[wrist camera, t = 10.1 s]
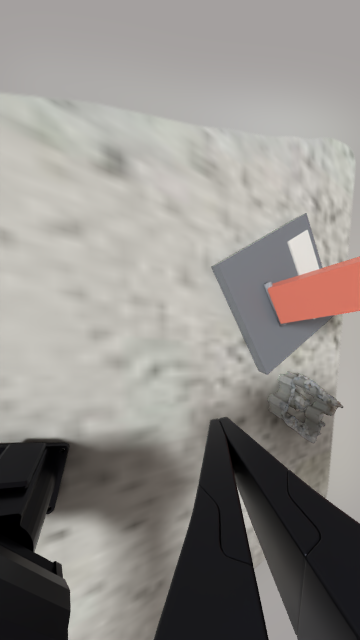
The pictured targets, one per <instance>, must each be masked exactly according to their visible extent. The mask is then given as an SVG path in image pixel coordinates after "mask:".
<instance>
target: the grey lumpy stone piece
mask: <svg viewBox="0 0 360 640" xmlns="http://www.w3.org/2000/svg"><path fill="white" fill-rule="evenodd" d="M298 374H299V375H296V374H293V373H291V372H289V371H288V372H287V373H286V374H284V375H283V374H280V376H279V378H278V381H279V383H280V387H279V390H278V392H277V393H275V394H270V396H269V398H268V401H269V411H270V412H272V413H273V414H275V415H276V416H278V417H279V418H281V419H283V420H284V421H285V423H286V424H287V425H288V426H289V427H290V428H292V429H294V430H295V431H296V432H297V433H299V434H300V435H301V436H303V437H304V438H305V439H307V440H308V441H310V442H312V443H315V441H316V438H317V436H318V435H320V434H321V433H320V428H321V427H322V426H325V423H324V422H322V421H321V420H322V418H323V415H324V414H326V415H330V416H332V415H333V414H334V413H335V411H336V409H337V408H338V407H341V408H343V406H342V405H341V404H340V403H339V402H338V401H337V400H336V399H335V398H334V397H333V396H331V395H329V394H328V393H327V392H325V390H324V389H323V388H321V387H320V386H319V385H317V384H316V383H315V382H314V381H313V380H311V379H309V378H307V377H305V376H303V375H301V374H300V373H298ZM295 384H296V385H298V386H300V387H302V388H303V391H304V392H306V393H308V394H310V395H312V396H313V397H314V400H315V402H314V404H313V405H310V404H311V403H310V401H309V400H308V399H307V398H305V397H304V396H303V395H302V394H300V393H297V392H295V389H296V388H297V386H296V385H295ZM288 405H289V406H290V407H292V408H294V409H295V410H296V411H301V412H305V417H306V420H305V422H304V423H302V422H301V421H299V420H297V419H296V418H295V416H292V415H290V414H289V413H287V410H288V407H289V406H288ZM307 406H308V407H307ZM306 407H307V408H306ZM305 408H306V411H305Z"/></svg>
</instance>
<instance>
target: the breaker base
mask: <svg viewBox="0 0 360 640" xmlns="http://www.w3.org/2000/svg"><path fill="white" fill-rule="evenodd" d="M321 268H322V264H321V261H320V258H319V254H318V251H317V247H316V244H315V241H314V237H313V234H312V230H311V227H310V224H309V220H308V217H307V214H306V213H305V214H303V215H301V216H299V217H297V218H295V219H293V220H291V221H290V222H288V223H286V224H285V225H283V226H281V227H279V228H278V229H276V230H274V231H272V232H271V233H269V234H267V235H266V236H264V237H262V238H260V239H259V240H257V241H255V242H253V243H252V244H250V245H248V246H246V247H245V248H243V249H241V250H240V251H238V252H236V253H234V254H233V255H231V256H229V257H227V258H226V259H224V260H222V261H221V262H219V263H217V264H215V265H214V266H212V270H213V272H214V274H215V276H216V278H217V281H218V283H219V285H220V287H221V289H222V291H223V294H224V296H225V298H226V300H227V302H228V305H229V307H230V309H231V311H232V313H233V316H234V318H235V320H236V322H237V324H238V326H239V329H240V331H241V333H242V335H243V337H244V340H245V342H246V344H247V346H248V348H249V351H250V353H251V355H252V357H253V359H254V362H255V364H256V366H257V368H258V370H259V371H260V372H262V373H265V374H267V375H268V374H269V373H270V372H271V371H272V370H273V369H274V368H275V367H277V366H278V365H279V364H280V363H281V362H282V361H283V360H285V359H286V358H287V357H288V356H289V355H290V354H291V353H292V352H294V351H295V350H296V349H297V348H298V347H299V346H300V345H301V344H303V343H304V342H305V341H306V340H307V339H308V338H309V337H310V336H312V335H313V334H314V333H315V332H316V331H317V330H318V329H319V328H321V327H322V326H323V325H324V324H325V323H326V322H327V321H328V320H330V319H331V318H332V317H333V316H334V315H331V316H325V317H319V318H313V319H307V320H301V321H295V322H289V323H287V324H286V325H283V326H280V325H279V323H278V320H277V318H276V315H275V313H274V310H273V308H272V305H271V302H270V300H269V297H268V295H267V292H266V290H265V287H264V283H266V282H269V281H271V283H272V284H273V283H276V282H279V281H282V280H286V279H289V278H292V277H295V276H299V275H302V274H305V273H308V272H311V271H315V270H318V269H321Z"/></svg>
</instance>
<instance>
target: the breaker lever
mask: <svg viewBox="0 0 360 640" xmlns="http://www.w3.org/2000/svg"><path fill="white" fill-rule="evenodd" d="M264 287H265V290H266V292H267V295H268V297H269V300H270V302H271V305H272V308H273V310H274V313H275V315H276V318H277V320H278V323H279V325H280V326H283V325H286V324H287V323H289V322H295V321H301V320H307V319H313V318H319V317H325V316H331V315H337V314H343V313H349V312H355V311H360V257H357V258H353V259H351V260H347V261H344V262H340V263H337V264H334V265H331V266H328V267H324V268H321V269H318V270H315V271H311V272H308V273H305V274H302V275H299V276H295V277H292V278H289V279H286V280H282V281H279V282H276V283H273V284H272V283H271V281H269V282H266V283H264Z"/></svg>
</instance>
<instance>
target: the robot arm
mask: <svg viewBox="0 0 360 640" xmlns="http://www.w3.org/2000/svg"><path fill="white" fill-rule="evenodd" d="M62 448H64V449H65V450H60V449H62ZM68 450H69V444H67V443H13V444H0V640H68V624H69V618H70V589H69V587H68V585H67V583H66V581H65V579H63V574H62V565H61V564H60V563H58V562H56V561H54V562H51V561H49V560H47V559H45V558H44V557H42V556H40V555H38V554H36V553H34V552H35V549H36V545H37V542H38V539H39V536H40V532H41V529H42V526H43V522H44V519H45V516H46V514H50V513H51V512H52V511H53V510H54V508H55V504H56V500H57V496H58V492H59V488H60V484H61V479H62V475H63V471H64V467H65V463H66V459H67V455H68ZM236 484H237V485H236ZM237 487H238V490H239V492H240V495H241V497H242V500H243V502H244V505H245V507H246V510H247V512H248V515H249V517H250V520H251V522H252V525H253V527H254V530H255V533H256V535H257V538H258V540H259V543H260V545H261V548H262V550H263V553H264V555H265V558H266V560H267V563H268V565H269V568H270V570H271V573H272V576H273V578H274V581H275V583H276V586H277V588H278V591H279V593H280V596H281V598H282V601H283V603H284V606H285V608H286V611H287V614H288V616H289V619H290V621H291V624H292V626H293V629H294V631H295V634H296V635H297V638H298V640H360V524H359V523H358V522H357V521H355V520H354V519H352V518H351V517H350V516H348V515H347V514H346V513H344V512H343V511H341V510H340V509H339V508H337V507H336V506H334V505H333V504H332V503H331V502H329V501H328V500H327V499H325V498H324V497H323V496H321V495H320V494H319V493H317V492H316V491H315V490H313V489H312V488H311V487H310V486H308V485H307V484H306V483H305V482H303V481H302V480H301V479H300V478H299V477H297V476H296V475H295V474H294V473H293V472H291V471H290V470H288V469H287V468H286V467H285V466H284V465H283V464H282V463H280V462H279V461H278V460H277V459H276V458H275V457H273V456H272V455H271V454H270V453H269V452H268V451H266V450H265V449H264V448H263V447H262V446H260V445H259V444H258V443H257V442H256V441H255V440H253V439H252V438H251V437H250V436H249V435H248V434H246V433H245V432H244V431H243V430H242V429H240V428H239V427H238V426H237V425H236V424H235V423H233V422H232V421H231V420H230V419H229V418H227V417H223V418H220V419H212V420H211V421H210V425H209V431H208V436H207V441H206V447H205V452H204V458H203V463H202V468H201V474H200V479H199V486H198V489H197V494H196V499H195V503H194V508H193V512H192V516H191V520H190V523H189V527H188V530H187V534H186V537H185V540H184V543H183V547H182V550H181V553H180V556H179V560H178V563H177V566H176V569H175V572H174V576H173V579H172V582H171V585H170V589H169V592H168V595H167V598H166V602H165V605H164V608H163V611H162V614H161V618H160V621H159V624H158V627H157V631H156V634H155V637H154V640H269V639H268V635H267V630H266V625H265V620H264V615H263V610H262V606H261V601H260V596H259V591H258V586H257V581H256V577H255V572H254V568H253V562H252V557H251V553H250V548H249V543H248V538H247V533H246V528H245V524H244V519H243V514H242V509H241V504H240V499H239V495H238V490H237ZM48 506H50V507H48Z"/></svg>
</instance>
